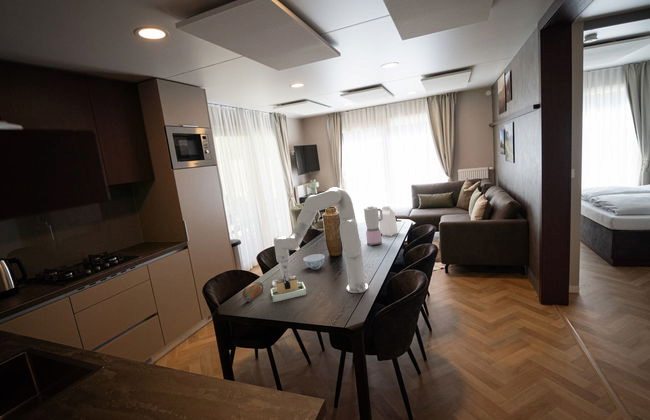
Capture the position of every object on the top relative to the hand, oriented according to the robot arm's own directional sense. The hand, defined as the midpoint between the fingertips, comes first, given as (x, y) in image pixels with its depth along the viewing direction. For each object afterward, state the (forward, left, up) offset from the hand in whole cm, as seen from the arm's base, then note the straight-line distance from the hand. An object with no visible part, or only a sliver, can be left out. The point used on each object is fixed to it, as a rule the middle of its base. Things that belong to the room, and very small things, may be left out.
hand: (287, 287), depth 179 cm
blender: (+60, -83, -5) cm, 103 cm away
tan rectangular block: (0, 0, -2) cm, 2 cm away
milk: (+81, -105, -5) cm, 133 cm away
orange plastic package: (+6, +20, -5) cm, 21 cm away
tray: (0, 0, -4) cm, 4 cm away
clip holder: (+15, 0, -4) cm, 16 cm away
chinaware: (+34, -24, -5) cm, 42 cm away
